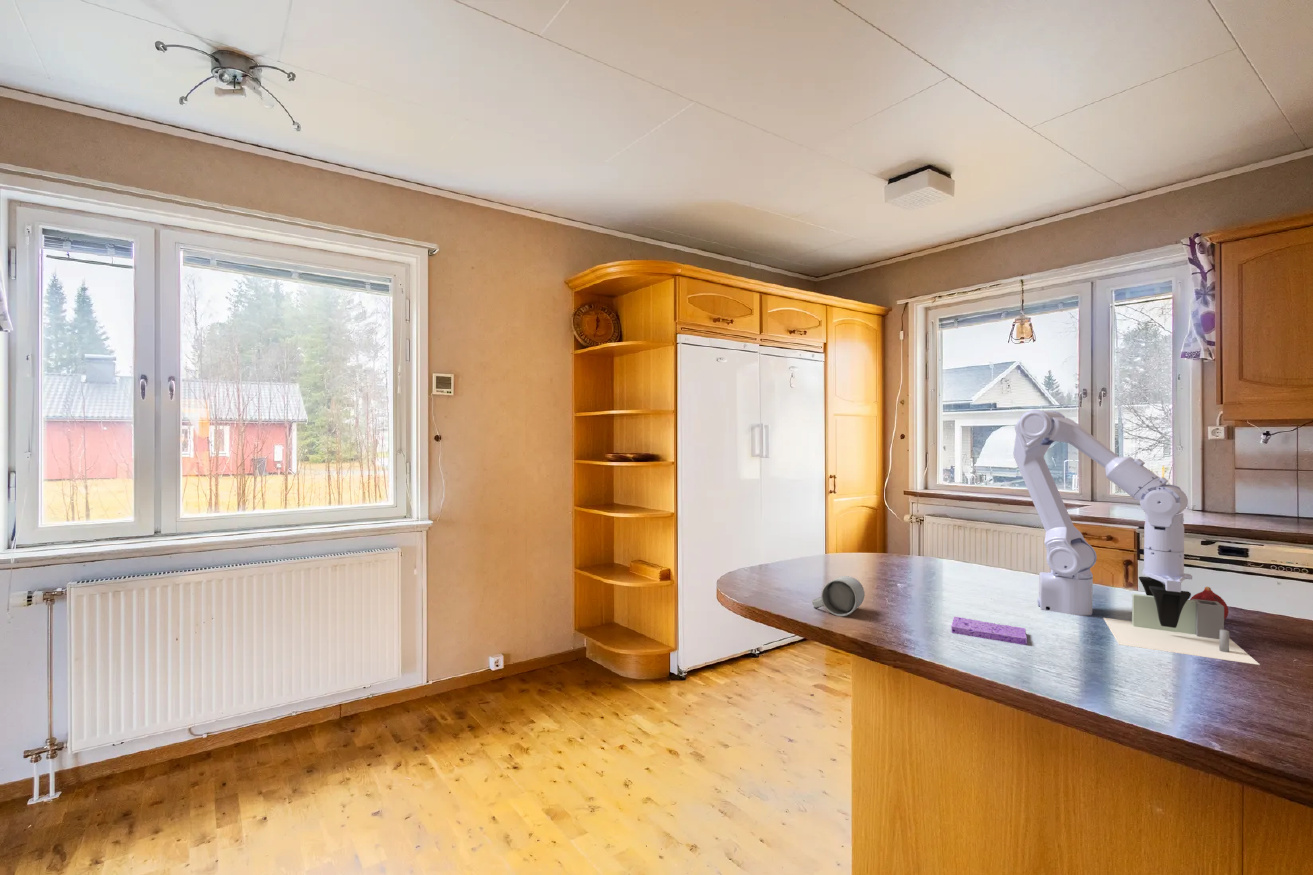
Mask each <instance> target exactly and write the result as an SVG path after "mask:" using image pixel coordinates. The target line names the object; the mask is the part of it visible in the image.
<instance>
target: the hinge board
mask: <svg viewBox="0 0 1313 875" xmlns="http://www.w3.org/2000/svg"><path fill="white" fill-rule="evenodd" d="M1102 619H1103V620H1104V621H1105V622H1104V623H1106V625H1107V627H1108V629H1109V630H1110V632H1111V633H1112V635H1113V636H1114V638H1115V641H1116V642H1117V644H1118V645H1120V646H1126V647H1132V648H1138V649H1148V650H1153V651H1161V652H1169V653H1173V654H1174V653H1176V654H1180V655H1181V654H1182V655H1189V656H1195V657H1203V658H1210V659H1215V660H1223V661H1229V662H1230V661H1231V662H1237V663H1244V664H1251V665H1258V666H1261V664H1260V663H1259V662H1258V661H1256V659H1254V658H1253V657H1252V656H1251V655H1250V654H1248V652H1246V651H1245V650H1244V649H1243V648H1241V646H1239V645H1238V644H1237V643H1236V642H1235V641H1233V639H1231V638H1230V631H1229V630H1227V629H1224V630H1222V629H1220V638H1219V639H1213V638H1206V637H1198V636H1196V635H1195V634H1188V633H1181V632H1173V631H1165V630H1158V629H1150V628H1143V627H1135V626H1133V625H1132V620H1125V619H1116V618H1108V617H1102Z"/></svg>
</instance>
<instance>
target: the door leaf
mask: <svg viewBox="0 0 1313 875" xmlns="http://www.w3.org/2000/svg"><path fill="white" fill-rule="evenodd" d="M1131 597H1132V600H1131V602H1132V603H1131V604H1132V605H1131V606H1132V608H1131V613H1132V614H1131V621H1132V625H1133V626H1135V627H1143V628H1150V629H1158V630H1165V631H1173V632H1181V633H1188V634H1195V635H1196V636H1198V637H1206V638H1213V639H1219V638H1220V629H1222V630H1225V620H1224V606H1223V605H1221V604H1220V603H1219V602H1216V601H1207V600H1198V599H1192V600H1190V599H1188V600H1187V602H1186V603H1185V605H1184V606H1183V608H1182V611H1181V614H1180V617H1179V621H1178V624H1177V626H1176V628H1172V627H1165V626H1161V624H1160V621H1159V617H1158V611H1157V606H1156V602H1155V599H1154V596H1149V595H1146V594H1138V593H1132V594H1131Z"/></svg>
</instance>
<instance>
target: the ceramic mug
mask: <svg viewBox="0 0 1313 875" xmlns="http://www.w3.org/2000/svg"><path fill="white" fill-rule="evenodd" d="M863 586H864V585H862V583H861V582H860V581H859V580H858V579H857V578H855V577H853V576H849V575H848V576H847V575H842V576H839V577H837V578H834V579H832V580H829V581H827V582H826V583H825V585H824V586H823V588H822V589H821V593H820V595H821V596H820V597H817V598H815V599H813V600H811V602H812V605H813V608H817V609H818V608H820V607H824V608H825V609H826V611H828V612H829V613H830V614H832V615H833V616H836V617H847V616H849V615H851V614H852V613H853V612H854V611H856V610H857V608H859V607H861V605H862V604H863V602H864V599H865V593H866V592H865V589H864V587H863Z"/></svg>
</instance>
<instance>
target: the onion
mask: <svg viewBox="0 0 1313 875" xmlns="http://www.w3.org/2000/svg"><path fill="white" fill-rule="evenodd" d="M1192 599H1198V600H1207V601H1216V602H1219V603H1220V604H1221V605H1223V606H1224V621H1225V620H1226V619H1227V618H1228V616H1229V607H1228V604H1227V603H1226V601H1225V600H1224V599H1223V598H1222V597H1221V595H1220V596H1219V595H1218V594H1217V593H1215V592H1214V591H1213V590H1212V588H1211V587H1210V586H1205V587H1204V590H1203V591H1200V592H1198V593H1196V594H1194V595H1193V596H1191V597H1190V598H1189V600H1192Z"/></svg>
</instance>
